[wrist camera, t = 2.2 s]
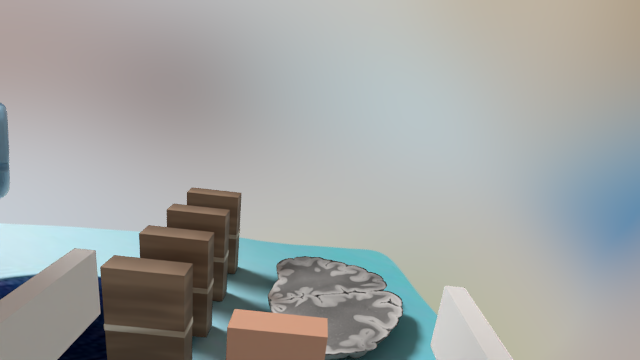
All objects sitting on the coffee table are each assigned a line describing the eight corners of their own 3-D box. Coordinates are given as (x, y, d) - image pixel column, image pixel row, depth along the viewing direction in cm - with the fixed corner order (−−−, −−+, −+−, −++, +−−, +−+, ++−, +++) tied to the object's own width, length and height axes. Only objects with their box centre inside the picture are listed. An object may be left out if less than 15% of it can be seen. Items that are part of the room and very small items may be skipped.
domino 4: (206, 337, 39) (208, 241, 35) (142, 331, 39) (138, 233, 35) (212, 324, 41) (215, 232, 37) (151, 318, 41) (148, 225, 37)
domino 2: (234, 274, 51) (238, 197, 48) (186, 269, 51) (186, 192, 48) (237, 266, 53) (241, 192, 50) (191, 261, 53) (191, 187, 50)
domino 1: (184, 387, 33) (184, 276, 29) (108, 380, 33) (99, 267, 29) (192, 369, 35) (193, 263, 31) (120, 362, 35) (113, 255, 31)
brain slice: (430, 362, 40) (435, 340, 39) (282, 387, 34) (284, 362, 33) (361, 269, 57) (364, 253, 57) (257, 276, 52) (258, 258, 51)
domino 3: (222, 301, 45) (225, 216, 42) (167, 296, 45) (166, 209, 42) (226, 292, 47) (230, 209, 44) (174, 286, 47) (173, 203, 44)
